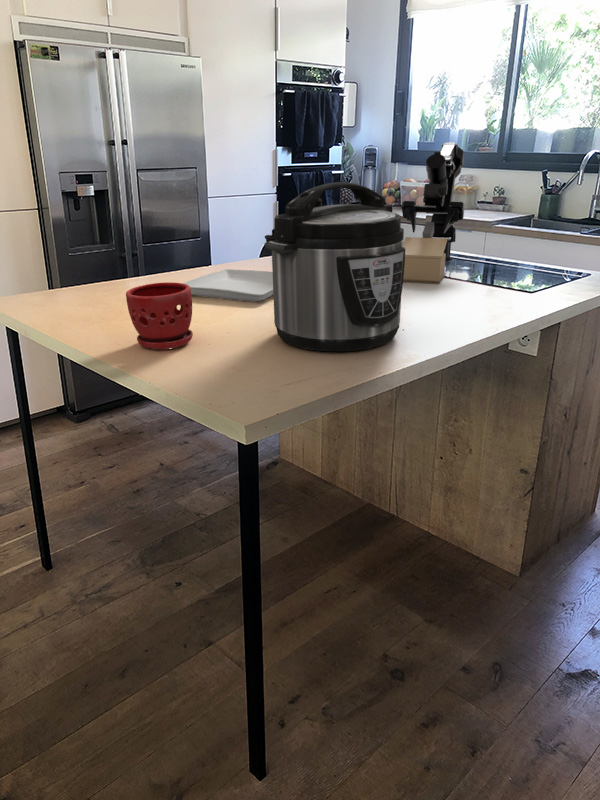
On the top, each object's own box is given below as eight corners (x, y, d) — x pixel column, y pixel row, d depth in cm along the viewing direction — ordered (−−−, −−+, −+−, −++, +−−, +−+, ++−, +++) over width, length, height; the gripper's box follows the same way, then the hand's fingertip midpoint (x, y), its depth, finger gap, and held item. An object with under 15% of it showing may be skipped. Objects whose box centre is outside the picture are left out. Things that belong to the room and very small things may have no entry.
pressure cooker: (269, 360, 124) (263, 188, 112) (265, 322, 150) (260, 180, 138) (421, 355, 126) (431, 185, 114) (391, 318, 152) (397, 177, 140)
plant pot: (155, 333, 143) (150, 279, 138) (206, 338, 138) (202, 283, 134) (119, 349, 132) (111, 292, 127) (173, 356, 127) (167, 297, 122)
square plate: (175, 298, 176) (174, 284, 175) (227, 280, 199) (226, 267, 198) (261, 307, 166) (260, 292, 164) (305, 286, 188) (305, 273, 187)
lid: (410, 231, 200) (410, 221, 198) (450, 232, 196) (450, 222, 194) (399, 260, 189) (399, 250, 187) (441, 261, 185) (441, 252, 183)
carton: (405, 275, 200) (406, 252, 197) (444, 277, 196) (445, 253, 193) (398, 281, 191) (399, 257, 188) (439, 283, 187) (440, 259, 184)
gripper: (404, 173, 196) (395, 214, 191) (466, 173, 190) (458, 215, 185) (407, 197, 206) (399, 237, 201) (466, 198, 200) (459, 239, 195)
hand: (428, 232), depth 195 cm, fingers open, 9 cm apart
